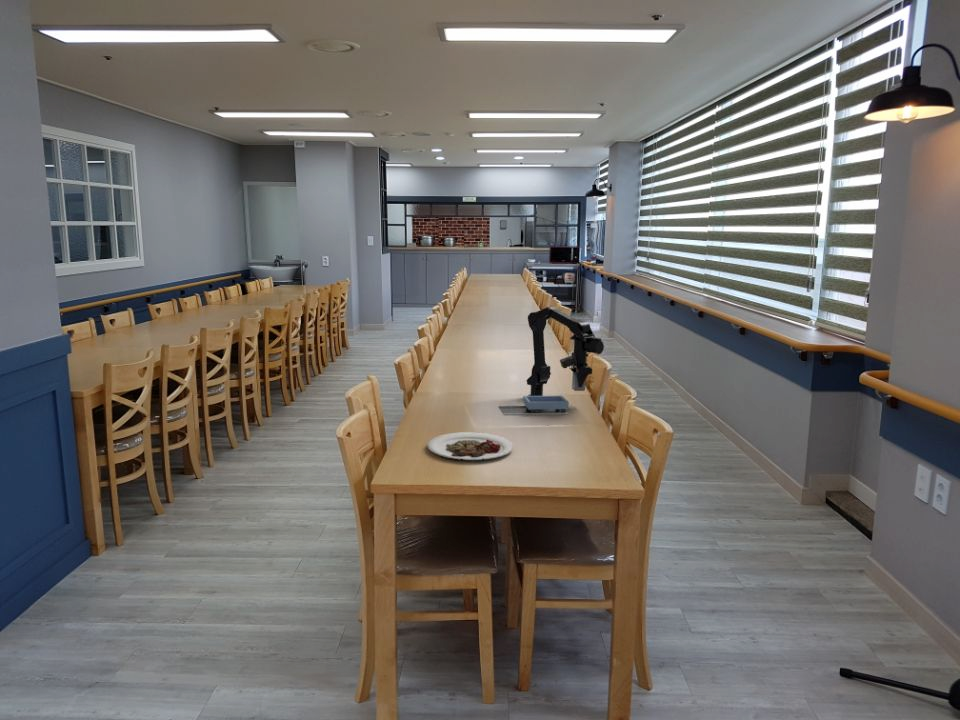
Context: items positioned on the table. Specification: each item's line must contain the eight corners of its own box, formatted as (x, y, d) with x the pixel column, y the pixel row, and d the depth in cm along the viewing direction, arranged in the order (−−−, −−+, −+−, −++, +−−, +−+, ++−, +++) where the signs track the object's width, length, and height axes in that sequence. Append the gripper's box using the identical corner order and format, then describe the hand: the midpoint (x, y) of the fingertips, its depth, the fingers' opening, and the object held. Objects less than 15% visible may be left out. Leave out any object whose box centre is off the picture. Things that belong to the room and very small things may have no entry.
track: (498, 408, 297) (498, 405, 297) (559, 408, 301) (559, 404, 300) (503, 417, 284) (503, 413, 284) (567, 416, 288) (567, 412, 288)
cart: (523, 406, 297) (523, 396, 296) (561, 406, 300) (562, 395, 299) (528, 413, 286) (528, 402, 286) (568, 413, 289) (568, 402, 288)
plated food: (415, 441, 250) (416, 432, 249) (491, 433, 262) (491, 425, 261) (445, 468, 223) (445, 458, 222) (528, 458, 235) (528, 448, 234)
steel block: (571, 388, 302) (572, 372, 301) (581, 388, 303) (582, 372, 302) (574, 390, 298) (575, 375, 297) (584, 390, 299) (585, 375, 297)
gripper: (556, 347, 305) (555, 381, 308) (567, 354, 287) (566, 391, 290) (581, 347, 307) (579, 381, 310) (593, 354, 289) (591, 391, 292)
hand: (578, 386), depth 300 cm, fingers closed on steel block, 4 cm apart
